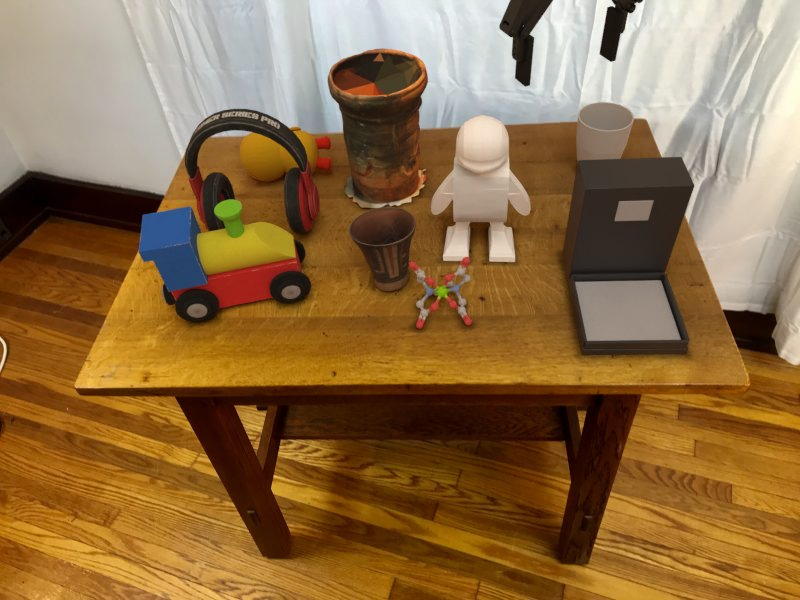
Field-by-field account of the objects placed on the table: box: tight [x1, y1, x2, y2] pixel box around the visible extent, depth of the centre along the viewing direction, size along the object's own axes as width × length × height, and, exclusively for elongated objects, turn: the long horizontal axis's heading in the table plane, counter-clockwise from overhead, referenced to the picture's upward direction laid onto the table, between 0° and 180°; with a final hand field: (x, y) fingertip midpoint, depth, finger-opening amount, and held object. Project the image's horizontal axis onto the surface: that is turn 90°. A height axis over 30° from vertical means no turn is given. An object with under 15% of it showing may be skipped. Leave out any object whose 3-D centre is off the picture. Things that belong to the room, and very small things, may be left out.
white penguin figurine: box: [430, 114, 532, 263], centre depth 84 cm, size 14×9×20 cm, turn 84°
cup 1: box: [348, 206, 417, 292], centre depth 84 cm, size 9×9×10 cm
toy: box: [239, 126, 333, 183], centre depth 103 cm, size 9×9×15 cm
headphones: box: [184, 108, 321, 235], centre depth 89 cm, size 18×10×20 cm, turn 90°
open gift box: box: [561, 156, 695, 356], centre depth 76 cm, size 18×12×16 cm
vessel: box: [327, 48, 429, 209], centre depth 95 cm, size 14×14×20 cm
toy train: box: [138, 199, 312, 323], centre depth 82 cm, size 9×20×15 cm, turn 102°
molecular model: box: [408, 256, 473, 330], centre depth 80 cm, size 7×8×8 cm
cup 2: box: [575, 101, 635, 162], centre depth 97 cm, size 8×8×10 cm
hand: (565, 69), depth 86 cm, fingers open, 13 cm apart
